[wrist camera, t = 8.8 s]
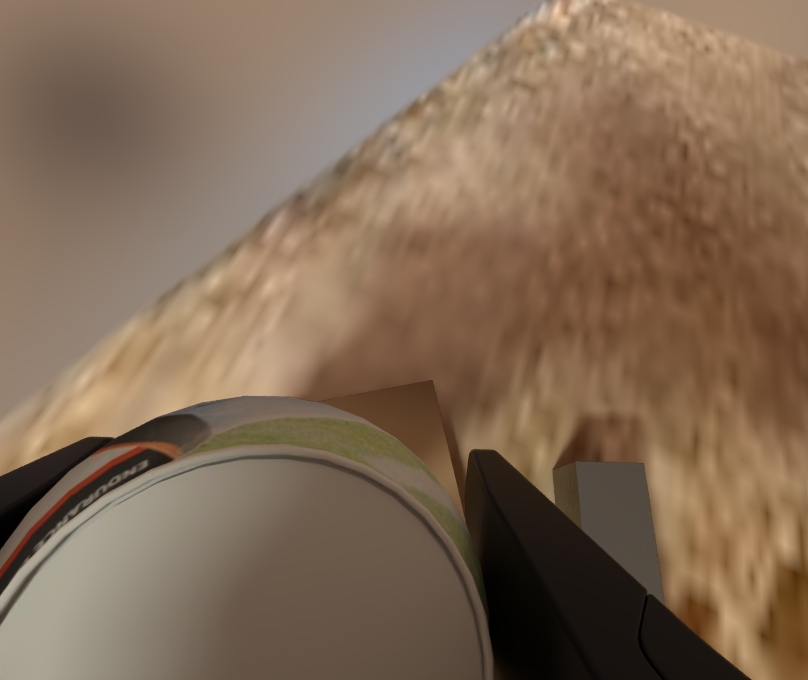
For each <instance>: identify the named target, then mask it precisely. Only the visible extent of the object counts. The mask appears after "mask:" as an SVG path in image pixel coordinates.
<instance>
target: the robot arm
mask: <svg viewBox="0 0 808 680" xmlns="http://www.w3.org/2000/svg"><path fill="white" fill-rule="evenodd" d="M113 439H115V438H113V437H87V438H84V439H82V440H80V441H78V442H76V443H73V444H71V445H69V446H67V447H64V448H62V449H60V450H58V451H55V452H53V453H51V454H49V455H47V456H44V457H42V458H40V459H38V460H35V461H33V462H31V463H29V464H27V465H24V466H22V467H20V468H18V469H15V470H13V471H11V472H9V473H6V474H4V475H2V476H0V550H1V548H2V547H3V546H4V544H5V543H6V542H7V540H8V539H9V538H10V536H11V535H12V534H13V532H14V531H15V530H16V528H17V527H18V526H19V524H20V523H21V522H22V520H23V519H24V517H25V516H26V515H27V513H28V512H29V511H30V510H31V509H32V507H33V506H35V505H36V504H37V503H38V502H39V501H40V500H41V499H42V498H43V497H44V496H45V495H46V494H47V493H48V492H49V491H50V490H51V489H52V488H53V487H54V486H55V485H56V484H57V483H58V482H59V481H60V480H61V479H62V478H63V477H64V476H65V475H66V474H67V473H68V472H69V471H70V470H71V469H73V468H74V467H75V466H77V465H78V464H80V463H81V462H82V461H84V460H85V459H87V458H88V457H89V456H91V455H92V454H94V453H95V452H96V451H98V450H99V449H100V448H102V447H103V446H105V445H106V444H107V443H109V442H110V441H112V440H113ZM465 511H466V523H467V528H468V531H469V534H470V536H471V539H472V542H473V545H474V548H475V551H476V554H477V557H478V559H479V562H480V565H481V569H482V574H483V580H484V586H485V591H486V597H487V602H488V608H489V635H490V640H491V646H492V652H493V657H494V680H751V679H750V678H749V677H747V676H746V675H745V674H744V673H742V672H741V671H740V670H739V669H738V668H736V667H735V666H734V665H733V664H732V663H730V662H729V661H728V660H727V659H725V658H724V657H723V656H722V655H721V654H719V653H718V652H717V651H716V650H714V649H713V648H712V647H711V646H710V645H709V644H708V643H706V642H705V641H704V640H703V639H702V638H701V637H700V636H698V635H697V634H696V633H695V632H694V631H693V630H692V629H691V628H689V627H688V626H687V625H686V624H685V623H684V622H683V621H681V620H680V619H679V618H678V617H677V616H676V615H675V614H674V613H673V612H671V611H670V610H669V609H668V608H667V607H666V606H665V605H664V604H663V603H662V602H661V601H659V600H658V599H657V598H656V597H655V596H654V595H653V594H648V595H647V593H648V591H647V589H646V588H645V587H644V586H643V585H642V584H641V583H640V582H638V581H637V580H636V579H635V578H634V577H633V576H632V575H631V574H630V573H629V572H628V571H626V570H625V569H624V568H623V567H622V566H621V565H620V564H619V563H618V562H617V561H616V560H614V559H613V558H612V557H611V556H610V555H609V554H608V553H607V552H606V551H605V550H604V549H603V548H601V547H600V546H599V545H598V544H597V543H596V542H595V541H594V540H593V539H592V538H591V537H589V536H588V535H587V534H586V533H585V532H584V531H583V530H582V529H581V528H580V527H579V526H577V525H576V524H575V523H574V522H573V521H572V520H571V519H570V518H569V517H568V516H567V515H566V514H564V513H563V512H562V511H561V510H560V509H559V508H558V507H557V506H556V505H555V504H554V503H552V502H551V501H550V500H549V499H548V498H547V497H546V496H545V495H544V494H543V493H542V492H540V491H539V490H538V489H537V488H536V487H535V486H534V485H533V484H532V483H531V482H530V481H528V480H527V479H526V478H525V477H524V476H523V475H522V474H521V473H520V472H519V471H518V470H517V469H515V468H514V467H513V466H512V465H511V464H510V463H509V462H508V461H507V460H506V459H505V458H503V457H502V456H501V455H500V454H499V453H498V452H497V451H495V450H489V449H473V450H471V452H470V453H469V458H468V467H467V475H466V484H465Z"/></svg>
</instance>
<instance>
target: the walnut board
mask: <svg viewBox="0 0 808 680" xmlns="http://www.w3.org/2000/svg"><path fill="white" fill-rule="evenodd" d="M318 403H323V404H327V405H330V406H333V407H335V408H338V409H340V410H343V411H346V412H348V413H351V414H354V415H356V416H359V417H362V418H364V419H365V420H367V421H369V422H370V423H372V424H374V425H375V426H377V427H379V428H380V429H382V430H384V431H385V432H387V433H389V434H390V435H392V436H394V437H395V438H397V439H398V440H399V441H400V442H401V443H402V444H403V445H404V446H406V447H407V448H408V449H409V450H410V451H411V452H412V453H414V454H415V455H416V456H417V457H418V458H419V459H420V460H422V461H423V462H424V463H425V465H426V466H427V467H428V468H429V470H430V471H431V472H432V473H433V475H434V476H435V477H436V478H437V480H438V481H439V482H440V483H441V485H442V486H443V487H444V488H445V490H446V491H447V492H448V493H449V495H450V497H451V499H452V501H453V502H454V504H455V506H456V508H457V510H458V511H459V513H460V515H461V517H462V519H463V521H464V522H465V524H466V521H465V517H464V513H463V508H462V504H461V500H460V496H459V491H458V487H457V483H456V479H455V474H454V470H453V466H452V462H451V457H450V453H449V449H448V445H447V440H446V436H445V432H444V428H443V423H442V419H441V415H440V411H439V406H438V402H437V398H436V394H435V390H434V385H433V381H432V380H430V381H425V382H419V383H414V384H409V385H403V386H398V387H393V388H388V389H382V390H377V391H372V392H366V393H361V394H356V395H351V396H345V397H340V398H335V399H329V400H324V401H319V402H318ZM466 526H467V525H466Z"/></svg>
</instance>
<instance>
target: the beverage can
mask: <svg viewBox="0 0 808 680" xmlns="http://www.w3.org/2000/svg"><path fill="white" fill-rule="evenodd" d="M0 680H494V657H493V652H492V646H491V640H490V635H489V608H488V602H487V597H486V591H485V586H484V580H483V574H482V569H481V565H480V562H479V559H478V557H477V554H476V551H475V548H474V545H473V542H472V539H471V536H470V534H469V531H468V528H467V526H466V524H465V522H464V521H463V519H462V517H461V515H460V513H459V511H458V510H457V508H456V506H455V504H454V502H453V501H452V499H451V497H450V495H449V493H448V492H447V491H446V490H445V488H444V487H443V486H442V485H441V483H440V482H439V481H438V480H437V478H436V477H435V476H434V475H433V473H432V472H431V471H430V470H429V468H428V467H427V466H426V465H425V463H424V462H423V461H422V460H420V459H419V458H418V457H417V456H416V455H415V454H414V453H412V452H411V451H410V450H409V449H408V448H407V447H406V446H404V445H403V444H402V443H401V442H400V441H399V440H398V439H397V438H395V437H394V436H392V435H390V434H389V433H387V432H385V431H384V430H382V429H380V428H379V427H377V426H375V425H374V424H372V423H370V422H369V421H367V420H365V419H364V418H362V417H359V416H356V415H354V414H351V413H348V412H346V411H343V410H340V409H338V408H335V407H333V406H330V405H327V404H323V403H318V402H313V401H307V400H302V399H297V398H291V397H276V396H242V397H236V398H229V399H223V400H216V401H210V402H203V403H199V404H196V405H193V406H190V407H187V408H184V409H181V410H178V411H175V412H171V413H168V414H165V415H162V416H159V417H156V418H154V419H152V420H150V421H149V422H147V423H145V424H143V425H141V426H139V427H137V428H135V429H133V430H131V431H129V432H127V433H125V434H123V435H121V436H119V437H117V438H115V439H113V440H112V441H110V442H109V443H107V444H106V445H105V446H103V447H102V448H100V449H99V450H98V451H96V452H95V453H94V454H92V455H91V456H89V457H88V458H87V459H85V460H84V461H82V462H81V463H80V464H78V465H77V466H75V467H74V468H73V469H71V470H70V471H69V472H68V473H67V474H66V475H65V476H64V477H63V478H62V479H61V480H60V481H59V482H58V483H57V484H56V485H55V486H54V487H53V488H52V489H51V490H50V491H49V492H48V493H47V494H46V495H45V496H44V497H43V498H42V499H41V500H40V501H39V502H38V503H37V504H36V505H35V506H33V507H32V509H31V510H30V511H29V512H28V513H27V515H26V516H25V517H24V519H23V520H22V522H21V523H20V524H19V526H18V527H17V528H16V530H15V531H14V532H13V534H12V535H11V536H10V538H9V539H8V540H7V542H6V543H5V544H4V546H3V547H2V548H1V550H0Z"/></svg>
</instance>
